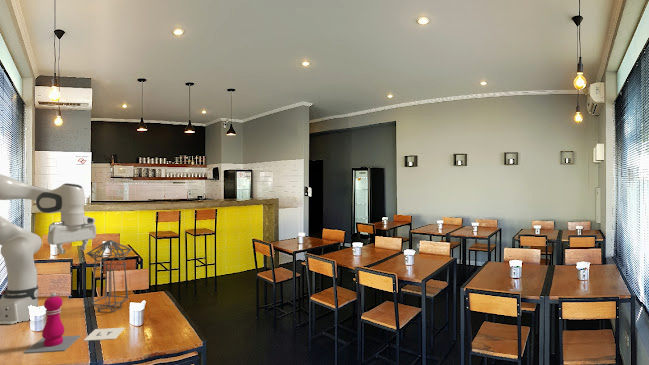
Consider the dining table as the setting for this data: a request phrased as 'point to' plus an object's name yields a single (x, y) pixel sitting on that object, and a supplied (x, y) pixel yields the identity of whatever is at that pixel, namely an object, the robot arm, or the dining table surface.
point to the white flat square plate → (104, 334)
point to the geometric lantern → (104, 245)
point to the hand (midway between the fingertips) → (72, 251)
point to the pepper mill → (53, 322)
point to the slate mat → (61, 347)
